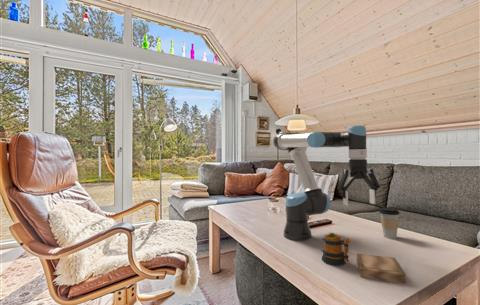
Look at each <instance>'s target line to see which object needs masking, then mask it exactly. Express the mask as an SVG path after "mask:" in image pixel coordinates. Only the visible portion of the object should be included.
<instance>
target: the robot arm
mask: <svg viewBox="0 0 480 305" xmlns="http://www.w3.org/2000/svg"><path fill="white" fill-rule="evenodd" d="M367 134H368V133H367V129H366V125H360V124H359V125H351V126H348V128H347V130H346V131H312V132H304V133H303V132H298V131H297V132H279V133H276V134H275V136H274V137H273V140H272V143H273V146H274V148H276V149H277V150H280V151H287V152H288V154H289V156H291V157H292V160H293V162H294V165H295V168H296V171H297V175H298V177H299V180H300V183H301V187H302V190H303V192H295V193H290V194H288V195H286V198H285V207H286V208H285V211H286V212H285V214H286V216H285V217H286V222H285V225H284V228H283V236H284V238H286V239H288V240H292V241H307V240H310V239H312V230H311V227H310V225H309V221H308V220H309V218H308V217H309V216H315V215H322V214H325V213H327V212H328V211H329V210H330V207H331V200H330V196H329V195H328V194H327V193H325V192H323V190H322V188H321V187H319V186H318V183H317V180H316V178H315V175H314V173H313V172H314V171H313V170H312V167H311V164H310V160H309V158H308V155H307V150H308V148H314V149H315V148H317V149H318V148H344V147H346V148H347V147H348V158H349V160H348V167H349V169H343V170H342V175H341V178H340V180H339V182H338V184H337V187H336V188H337V190H339V191H341V198H342V204H343V205H344V206H347V207H349V194H348V193H349V192H348V189H349V187H350V186H351V184H352V183H353V181H355V180H363V181H364V182H365V183H366V184H367V185H368V187H369V189H368V190H369V204H372V205H376V197H377V190H379V189H381V185H380V183H379V181H378V178H377V177H376V176H375V172H374V169H373V168H367V167H368V159H367V157H368V156H367V154H368V153H367V152H368V150H367V136H368V135H367ZM367 174H368V175H367Z"/></svg>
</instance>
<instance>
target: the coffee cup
mask: <svg viewBox="0 0 480 305" xmlns="http://www.w3.org/2000/svg"><path fill="white" fill-rule="evenodd" d="M378 213H380V220H381V221H380V222H381V228H382V233H383V237H384V238H386V239H390V240H393V239H397V236H398V229H399V228H398V226H399V215H400V211H399V210H398V208H396V207H387V206H386V207H385V206H383V207H380V209H379V210H378Z"/></svg>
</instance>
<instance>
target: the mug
mask: <svg viewBox="0 0 480 305" xmlns="http://www.w3.org/2000/svg"><path fill="white" fill-rule="evenodd" d="M321 241H323V243H324V247H323V250H322V249H321V250H320V252H321V253H322V256H321V260H322V262H323V263H324V264H326V265H328V266H335V267H341V266H345V265H346V264H347V263H350V258H349V257H350V256H349V244H350V243H351V239H350V238H348V237H346V238H345V239H344V240H343V239H341V236H340V235H338V234H335V232H329V233H328V234H325V235H324V236H323V238H321ZM343 247H344V250H343Z"/></svg>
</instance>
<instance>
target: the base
mask: <svg viewBox="0 0 480 305" xmlns="http://www.w3.org/2000/svg"><path fill="white" fill-rule="evenodd" d="M356 263H357V268H358V273H359V276H360V278H367V279H373V280H379V281H386V282H392V283H393V282H394V283H400V284H406V283H407V282H406V279H407V278H406V274H405V272H404V270H403V268H402V267H401V265H400V264H399V262H398V260H397V258H396V257H391V256H383V255H382V256H381V255H373V254H364V253H356Z"/></svg>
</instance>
